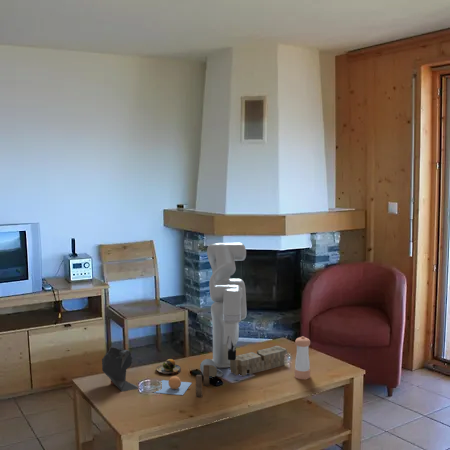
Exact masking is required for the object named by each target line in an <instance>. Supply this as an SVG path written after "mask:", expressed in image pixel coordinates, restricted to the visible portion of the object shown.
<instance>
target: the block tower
mask: <svg viewBox="0 0 450 450" xmlns="http://www.w3.org/2000/svg"><path fill="white" fill-rule="evenodd" d="M287 354H288V349H286V348H284V347H282V346H280V345H274V346H271V347H268V348H263V349H259V350H256V353H255V352H252V351H250V352H247V353H243V354H239V355H236V359H235V360H230V367H229V370H230V373H232V374H234V375H235V376H238V375H240V376H241V377H246V376H247V375H252V374H255V373H259V372H263V371H267V370H270V369H275V368H278V367H282V366H285V359H286V358H285V356H286V355H287Z"/></svg>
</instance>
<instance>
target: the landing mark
mask: <svg viewBox="0 0 450 450" xmlns="http://www.w3.org/2000/svg"><path fill="white" fill-rule="evenodd" d="M160 382H162V389H161V390H159V391H156V392H154V393H153V394H163V395H165V394H166V395H175V396H184V394H185V393H186V392H187V391H188V389H189V387H190V386H191V385H192V382H188V381H181V385H180V387H179V388H177V389H172V388H170V386H169V384H168V382H169V380H165V379H162V380H161V381H160Z"/></svg>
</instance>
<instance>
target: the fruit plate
mask: <svg viewBox="0 0 450 450" xmlns="http://www.w3.org/2000/svg"><path fill="white" fill-rule="evenodd" d="M155 370H156V371H158V372H159V373H160V374H161V373H162V374H165V375H167V374H170V375H171V376H176V375H177V373H178V374H180V373H181V372H182V368H181V366H180V365H178V364H176V360H174V359H173V358H169V359H167V360H166V362H165V361H164V362H163V364H160V365H158V366H156V368H155Z"/></svg>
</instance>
